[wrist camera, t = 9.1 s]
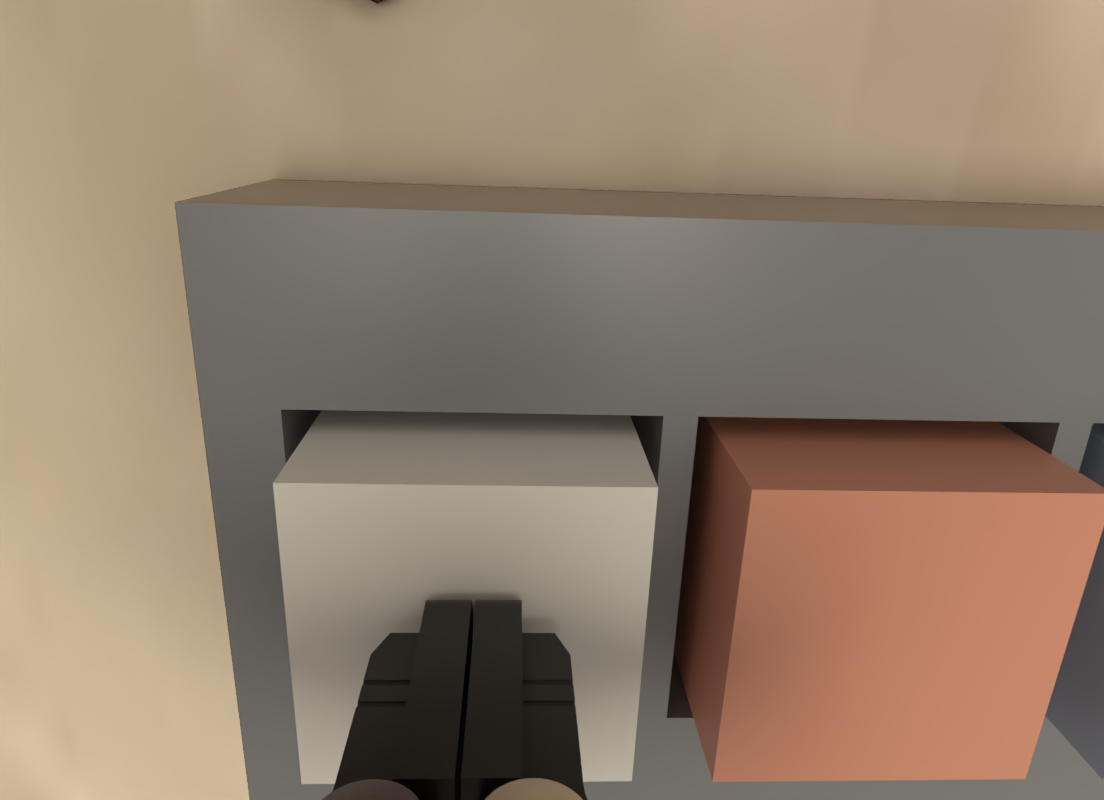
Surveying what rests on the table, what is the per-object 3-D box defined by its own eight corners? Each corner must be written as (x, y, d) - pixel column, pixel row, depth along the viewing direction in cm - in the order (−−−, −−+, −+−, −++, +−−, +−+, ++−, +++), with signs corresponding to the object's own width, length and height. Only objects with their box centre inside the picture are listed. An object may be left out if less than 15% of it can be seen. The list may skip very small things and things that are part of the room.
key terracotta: (665, 626, 17) (712, 782, 13) (689, 392, 16) (751, 489, 11) (906, 626, 18) (1025, 779, 14) (958, 397, 16) (1113, 493, 12)
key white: (353, 624, 17) (301, 783, 13) (338, 385, 15) (272, 482, 11) (604, 625, 17) (632, 781, 13) (620, 390, 16) (658, 487, 11)
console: (314, 683, 21) (255, 847, 16) (272, 179, 16) (174, 202, 12) (1137, 681, 22) (1308, 834, 17) (1302, 213, 18) (1591, 246, 13)
